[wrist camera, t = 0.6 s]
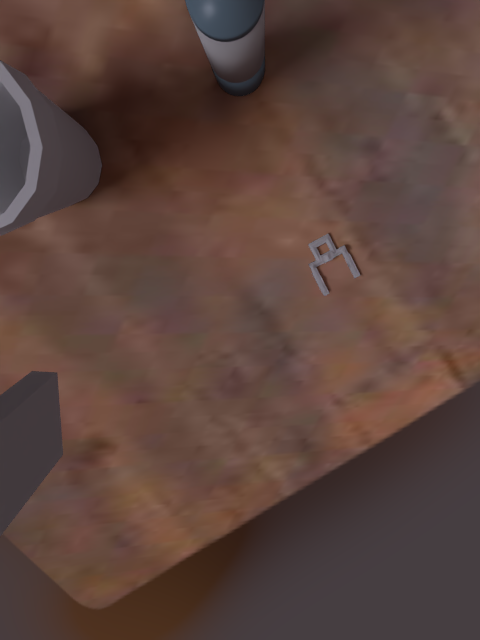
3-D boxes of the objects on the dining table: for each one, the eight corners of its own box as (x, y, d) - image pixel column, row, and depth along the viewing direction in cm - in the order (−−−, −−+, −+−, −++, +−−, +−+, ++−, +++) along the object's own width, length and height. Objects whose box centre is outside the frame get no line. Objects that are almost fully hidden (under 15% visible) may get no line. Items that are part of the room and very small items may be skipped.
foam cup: (87, 75, 34) (-19, -1, 21) (142, 195, 36) (75, 193, 23) (-22, 129, 35) (-182, 89, 22) (37, 242, 37) (-81, 265, 24)
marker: (205, 61, 33) (168, -22, 21) (247, 29, 32) (236, -75, 20) (232, 106, 34) (212, 53, 21) (274, 76, 33) (279, 3, 21)
